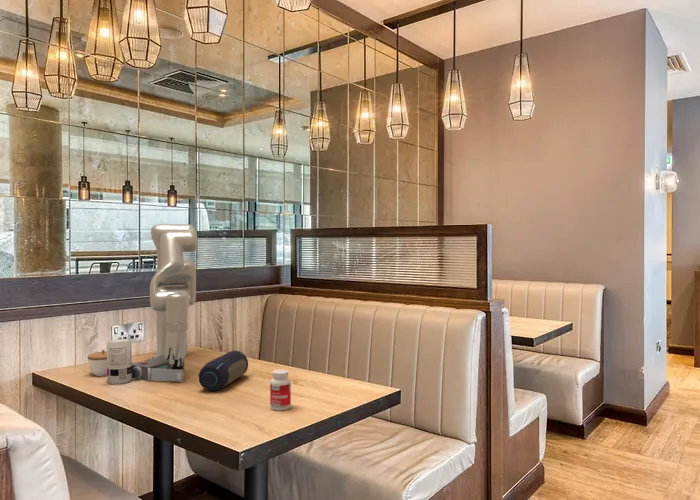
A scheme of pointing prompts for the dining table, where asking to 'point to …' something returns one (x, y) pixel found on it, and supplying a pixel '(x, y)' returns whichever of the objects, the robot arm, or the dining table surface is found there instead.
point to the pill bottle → (280, 390)
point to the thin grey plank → (167, 375)
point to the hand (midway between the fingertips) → (177, 376)
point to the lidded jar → (98, 363)
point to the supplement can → (119, 361)
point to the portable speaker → (223, 370)
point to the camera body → (150, 367)
